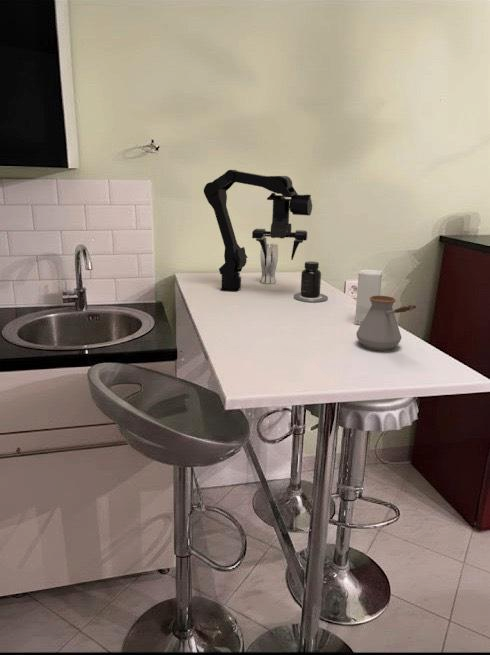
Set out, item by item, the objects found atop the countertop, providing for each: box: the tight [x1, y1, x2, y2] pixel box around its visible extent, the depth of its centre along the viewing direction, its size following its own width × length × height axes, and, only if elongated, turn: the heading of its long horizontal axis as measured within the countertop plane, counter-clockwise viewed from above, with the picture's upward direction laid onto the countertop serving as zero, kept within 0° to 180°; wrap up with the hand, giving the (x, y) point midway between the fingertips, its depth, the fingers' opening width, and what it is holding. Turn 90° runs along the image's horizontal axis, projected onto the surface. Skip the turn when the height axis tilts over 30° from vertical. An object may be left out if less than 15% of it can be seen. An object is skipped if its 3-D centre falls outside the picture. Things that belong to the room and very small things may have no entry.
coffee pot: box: [355, 295, 420, 352], centre depth 128 cm, size 21×12×15 cm, turn 13°
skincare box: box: [354, 268, 383, 326], centre depth 153 cm, size 8×7×16 cm
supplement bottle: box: [300, 261, 322, 298], centre depth 180 cm, size 7×7×12 cm
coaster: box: [293, 292, 329, 303], centre depth 182 cm, size 12×12×1 cm
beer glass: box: [259, 243, 279, 285], centre depth 202 cm, size 7×7×15 cm
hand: (278, 259), depth 181 cm, fingers open, 9 cm apart
